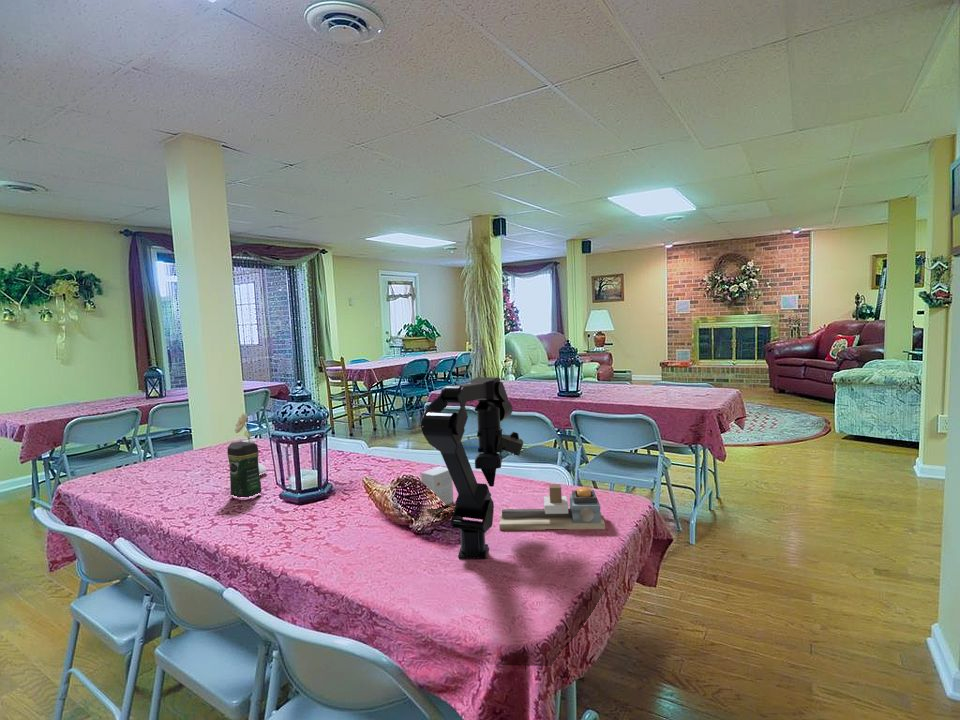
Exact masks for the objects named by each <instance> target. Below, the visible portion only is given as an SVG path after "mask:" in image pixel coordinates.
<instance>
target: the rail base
mask: <svg viewBox="0 0 960 720" xmlns="http://www.w3.org/2000/svg"><path fill="white" fill-rule="evenodd" d="M603 517H604V516H603V515H602V512H601V504H600V501H599V500H598V497H597V494H596V492H595V490H594V489H591V497H577V490H571V493H569V508H568V514H545V508H517V509H516V508H515V509H514V508H513V509H512V508H507V509H505V508H504V509H501V510H500V518H499V531H533V530H534V531H535V530H538V531H541V530H542V531H543V530H545V529H567V530H606V523H605V520H604V518H603Z"/></svg>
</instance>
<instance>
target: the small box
mask: <svg viewBox="0 0 960 720" xmlns="http://www.w3.org/2000/svg"><path fill="white" fill-rule="evenodd" d="M420 476H421V477H420V479H421V483H422V482H423V483H424V484H425V485H426V486H427V487H428V488H430V489H431V490H432V491H433V492H434V493H435V494H436V495H437V496H438V497H439V498H440V499H441V500H442V501H443V502H444V503H445V504H448V505H451V504H452V503H454V487H453V486H454V483H453V480H452V478H451V476H450V473H449V471H448V469H447V467H444V466H440V465H439V466H436V467H433V468H431V469H428V470H425V471H422V472H421V473H420Z"/></svg>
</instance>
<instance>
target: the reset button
mask: <svg viewBox="0 0 960 720" xmlns="http://www.w3.org/2000/svg"><path fill="white" fill-rule="evenodd" d="M591 490H592V489H591V488H589V487H579V488H577V489H576V491H577V497H591Z"/></svg>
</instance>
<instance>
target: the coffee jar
mask: <svg viewBox="0 0 960 720" xmlns="http://www.w3.org/2000/svg"><path fill="white" fill-rule="evenodd" d="M242 441H243V440H239V441H234V442H232V443H229V445H228V446H227V458H228V464H229V479H230V480H229V481H230V496H231V495H234V496H237V497H249V496H253V495H255V494H258V493H260V492H261V491H262V483H261V476H260V475H259V465H258V463H259V447H258V444H257V443H256V442H255V443H249V442H242Z"/></svg>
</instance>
